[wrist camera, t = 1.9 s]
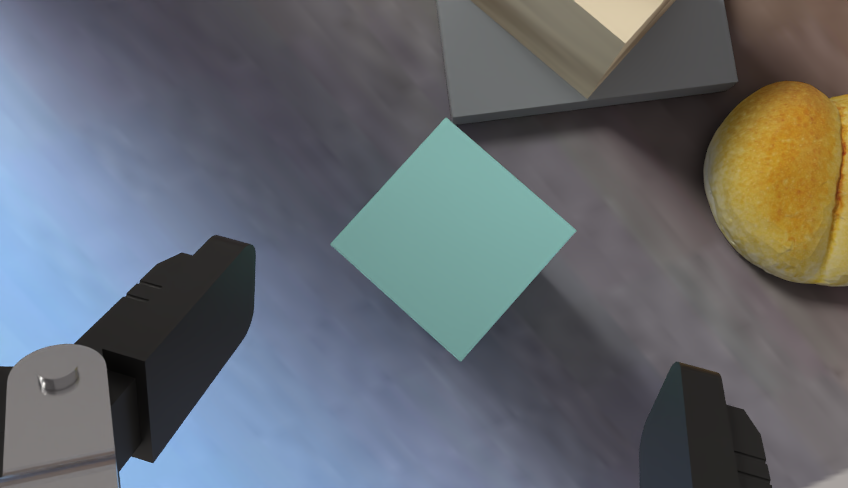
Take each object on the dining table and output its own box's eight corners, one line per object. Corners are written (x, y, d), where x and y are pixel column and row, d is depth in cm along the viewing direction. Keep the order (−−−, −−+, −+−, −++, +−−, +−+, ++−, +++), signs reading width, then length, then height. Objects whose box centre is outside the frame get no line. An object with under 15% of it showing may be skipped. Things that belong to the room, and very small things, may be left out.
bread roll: (710, 79, 31) (751, 44, 27) (915, 118, 31) (986, 88, 27) (680, 263, 31) (717, 254, 27) (890, 305, 30) (959, 303, 26)
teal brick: (451, 348, 30) (460, 362, 20) (363, 269, 30) (330, 244, 21) (529, 260, 30) (576, 230, 20) (441, 183, 31) (445, 117, 21)
